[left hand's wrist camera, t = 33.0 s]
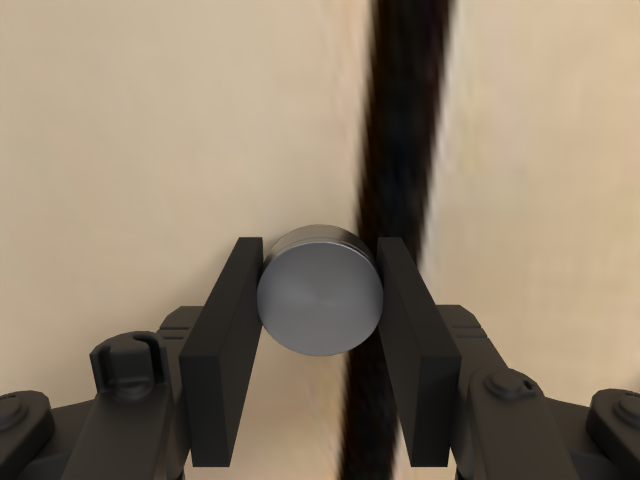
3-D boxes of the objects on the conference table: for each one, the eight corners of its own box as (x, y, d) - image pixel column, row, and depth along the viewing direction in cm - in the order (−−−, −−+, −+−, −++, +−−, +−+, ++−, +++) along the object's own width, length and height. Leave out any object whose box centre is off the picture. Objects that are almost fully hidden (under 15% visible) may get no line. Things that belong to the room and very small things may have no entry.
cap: (326, 199, 14) (326, 214, 12) (401, 284, 15) (410, 307, 13) (238, 273, 14) (228, 296, 13) (314, 348, 15) (314, 377, 14)
